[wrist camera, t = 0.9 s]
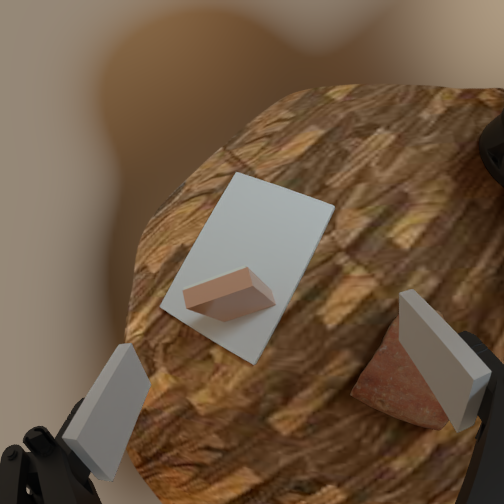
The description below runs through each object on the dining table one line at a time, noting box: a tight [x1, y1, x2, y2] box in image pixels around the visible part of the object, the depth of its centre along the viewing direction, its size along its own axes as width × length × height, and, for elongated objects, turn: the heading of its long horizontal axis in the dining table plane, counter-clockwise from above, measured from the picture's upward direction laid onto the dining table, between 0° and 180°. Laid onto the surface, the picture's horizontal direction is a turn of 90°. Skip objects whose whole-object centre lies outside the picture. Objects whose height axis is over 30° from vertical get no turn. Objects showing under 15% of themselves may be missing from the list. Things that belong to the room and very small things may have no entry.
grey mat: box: [160, 172, 335, 365], centre depth 48 cm, size 26×18×1 cm
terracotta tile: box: [182, 265, 276, 322], centre depth 40 cm, size 2×8×12 cm, turn 106°
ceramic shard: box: [350, 310, 449, 430], centre depth 35 cm, size 15×6×15 cm
